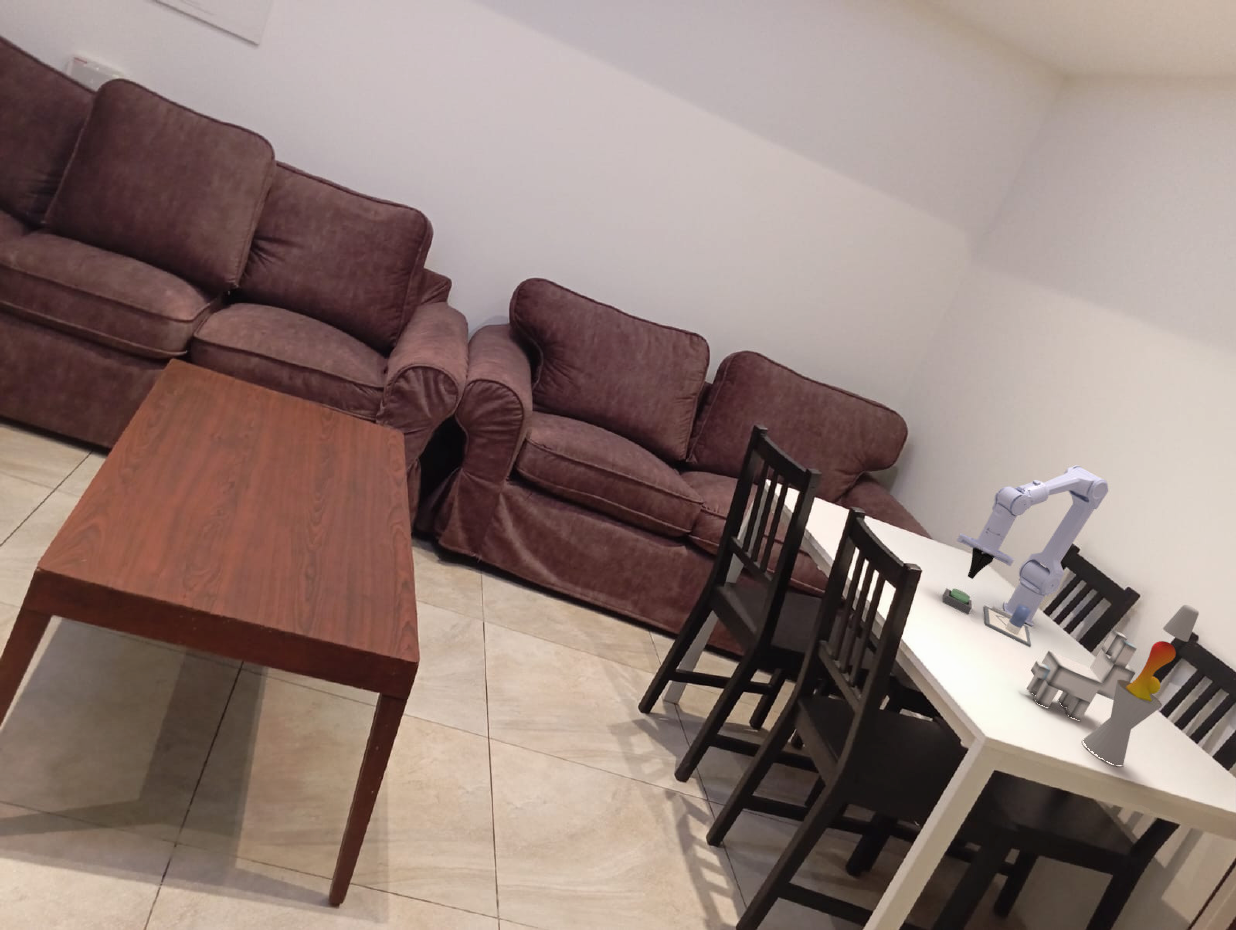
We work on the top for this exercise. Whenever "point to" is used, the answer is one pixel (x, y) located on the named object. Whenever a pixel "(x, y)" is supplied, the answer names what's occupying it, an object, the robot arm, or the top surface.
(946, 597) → the button housing
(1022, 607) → the marker
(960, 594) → the button
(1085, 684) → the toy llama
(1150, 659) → the lava lamp
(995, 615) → the clipboard
